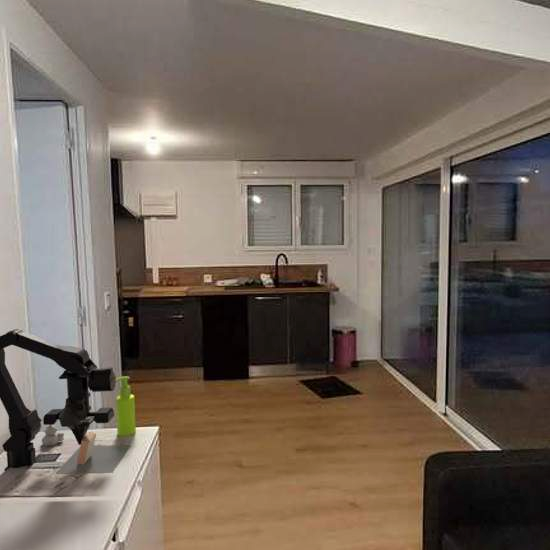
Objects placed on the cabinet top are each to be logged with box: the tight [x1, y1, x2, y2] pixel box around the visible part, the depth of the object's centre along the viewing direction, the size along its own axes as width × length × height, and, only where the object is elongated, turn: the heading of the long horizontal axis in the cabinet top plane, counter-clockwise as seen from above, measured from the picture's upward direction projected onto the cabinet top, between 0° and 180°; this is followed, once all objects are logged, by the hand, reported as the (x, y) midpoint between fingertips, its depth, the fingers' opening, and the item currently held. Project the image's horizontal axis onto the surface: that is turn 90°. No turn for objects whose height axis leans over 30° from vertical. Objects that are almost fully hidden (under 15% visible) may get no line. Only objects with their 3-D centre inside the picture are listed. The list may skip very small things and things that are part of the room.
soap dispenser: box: [115, 375, 137, 437], centre depth 158 cm, size 6×7×20 cm
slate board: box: [54, 444, 132, 475], centre depth 139 cm, size 16×18×1 cm
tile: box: [77, 431, 97, 465], centre depth 138 cm, size 2×6×7 cm, turn 1°
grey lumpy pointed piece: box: [41, 424, 65, 447], centre depth 151 cm, size 5×7×8 cm
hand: (80, 444), depth 138 cm, fingers closed
